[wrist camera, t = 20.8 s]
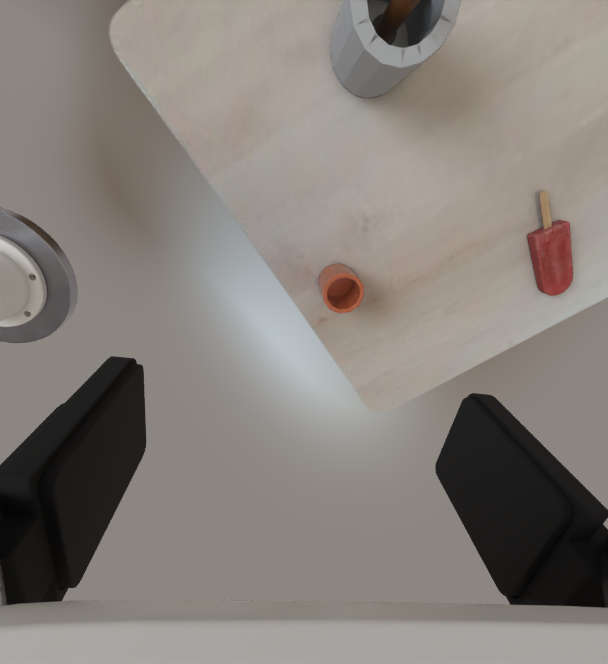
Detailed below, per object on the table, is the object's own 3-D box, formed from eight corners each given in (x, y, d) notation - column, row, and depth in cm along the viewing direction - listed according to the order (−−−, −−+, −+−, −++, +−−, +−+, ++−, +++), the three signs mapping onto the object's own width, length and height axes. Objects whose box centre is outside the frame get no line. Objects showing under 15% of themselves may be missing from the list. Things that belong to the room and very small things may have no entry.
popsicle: (566, 182, 41) (577, 287, 47) (555, 182, 42) (567, 284, 48) (529, 199, 41) (545, 301, 47) (520, 198, 43) (536, 297, 49)
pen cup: (311, 278, 45) (315, 289, 40) (341, 256, 44) (349, 265, 39) (331, 305, 47) (337, 320, 42) (361, 285, 46) (371, 297, 41)
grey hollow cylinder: (314, 36, 35) (329, -23, 25) (385, -27, 33) (431, -118, 23) (358, 115, 38) (386, 91, 28) (424, 62, 36) (479, 16, 26)
